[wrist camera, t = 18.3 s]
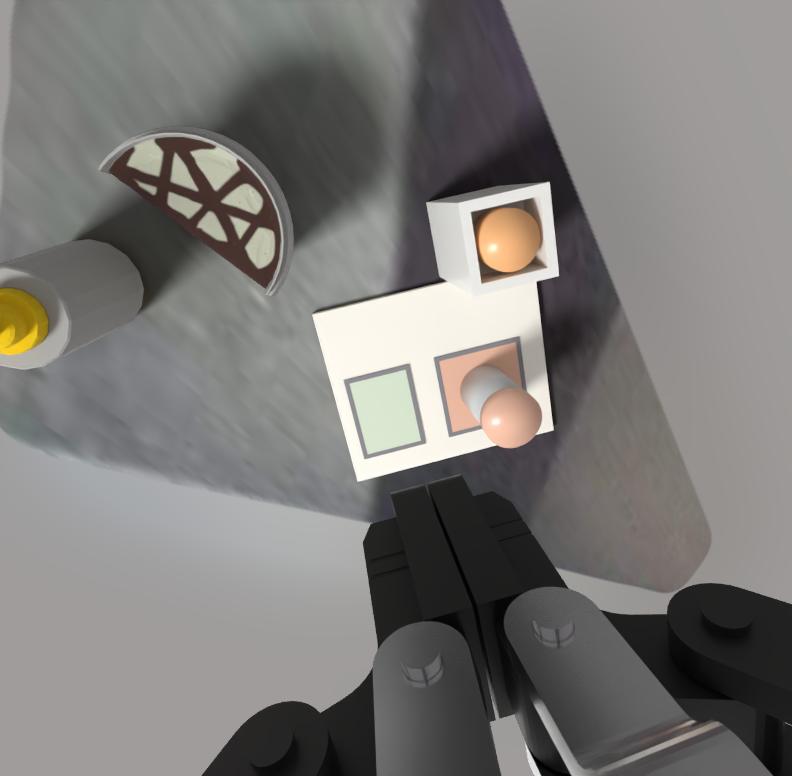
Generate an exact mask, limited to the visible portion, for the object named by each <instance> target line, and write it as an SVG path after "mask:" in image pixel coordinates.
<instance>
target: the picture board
mask: <svg viewBox="0 0 792 776" xmlns="http://www.w3.org/2000/svg"><path fill="white" fill-rule="evenodd" d="M312 315H313V319H314V323H315V326H316V330H317V334H318V337H319V341H320V345H321V348H322V352H323V356H324V359H325V363H326V367H327V370H328V374H329V378H330V381H331V385H332V389H333V392H334V396H335V400H336V403H337V407H338V411H339V414H340V418H341V422H342V425H343V429H344V433H345V437H346V440H347V444H348V448H349V451H350V455H351V459H352V462H353V466H354V470H355V473H356V477H357V481H358V482H359V481H363V480H366V479H370V478H374V477H378V476H382V475H385V474H389V473H393V472H397V471H401V470H404V469H408V468H412V467H416V466H420V465H423V464H427V463H431V462H435V461H439V460H442V459H446V458H450V457H454V456H458V455H461V454H465V453H469V452H473V451H477V450H480V449H484V448H488V447H492V446H496V444H495V443H493V442H492V441H491V440H490V439H489V438H488V436H487V435H486V434H485V432H484V431H483V429H482V427H481V425H480V423H479V422H478V421H477V420H476V418H475V417H474V416H473V414H472V413H471V412H470V410H469V409H468V408H467V406H466V405H465V404H464V402H463V401H462V398H461V395H460V386H461V383H462V380H463V378H464V377H465V375H466V374H467V373H468V372H469V371H470V370H472V369H473V368H475V367H478V366H481V365H491V366H495V367H497V368H499V369H500V370H501V371H502V372H503V373H505V374H506V375H507V376H508V377H509V378H510V379H511V380H512V381H513V382H515V383H516V384H517V385H518V386H519V387H520V388H521V389H523V390H525V391H526V392H528V393H529V394H530V395H531V396H532V397H533V398H534V399H535V400H536V401H537V402H538V403H539V405H540V407H541V411H542V422H541V426H540V428H539V430H538V432H537V433H536V435H537V434H541V433H545V432H549V431H553V422H552V413H551V405H550V396H549V387H548V379H547V370H546V362H545V353H544V344H543V336H542V327H541V318H540V310H539V301H538V292H537V284H536V282H532V283H528V284H524V285H520V286H516V287H511V288H507V289H503V290H499V291H495V292H491V293H487V294H483V295H479V296H474V297H473V296H471V295H469V294H468V293H466V292H464V291H463V290H461V289H459V288H458V287H456V286H454V285H453V284H451V283H449V282H448V281H445V282H440V283H436V284H432V285H428V286H424V287H420V288H416V289H411V290H407V291H403V292H399V293H395V294H391V295H386V296H382V297H378V298H374V299H370V300H366V301H361V302H357V303H353V304H349V305H345V306H341V307H336V308H332V309H328V310H324V311H320V312H316V313H312Z"/></svg>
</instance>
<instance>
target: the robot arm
mask: <svg viewBox="0 0 792 776" xmlns="http://www.w3.org/2000/svg"><path fill="white" fill-rule="evenodd" d="M427 491H428V492H427ZM390 495H391V499H392V503H393V507H394V511H395V515H396V517H395V518H392V519H388V520H384V521H380V522H377V523H373V524H371V525H370V527H369V529H368V532H367V534H366V537H365V539H364V541H363V547H364V553H365V559H366V567H367V573H368V579H369V587H370V594H371V601H372V607H373V614H374V620H375V627H376V634H377V641H378V651H377V653H376V655H375V658H374V662H373V668H372V670H371V671H370V673H369V675H368V676H367V678H366V679H365V680H364V681H363V682H362V684H361V685H360V686H359V687H358V688H357V689H355V690H354V691H353V692H352V693H351V694H349V695H348V696H347V697H345V698H344V699H342V700H341V701H339V702H337V703H336V704H334V705H333V706H331V707H329V708H328V709H326V710H325V711H323V712H321V713H320V712H318V711H317V710H316V709H315V708H314V707H312V706H310V705H309V704H306V703H302V702H297V701H290V702H281V703H277V704H274V705H271V706H269V707H267V708H265V709H263V710H261V711H259V712H258V713H257V714H255V715H253V716H252V717H251V718H249V719H248V720H247V721H246V722H245V723H244V724H243V725H242V726H241V727H240V728H239V729H238V731H236V733H235V734H234V735H233V736H232V738H231V739H230V740H229V741H228V743H227V744H226V745H225V747H224V748H223V749H222V750H221V752H220V753H219V754H218V755H217V757H216V758H215V759H214V761H213V762H212V763H211V764H210V766H209V767H208V768H207V769H206V771H205V772H204V773H203V775H202V776H501V773H500V768H499V764H498V760H497V755H496V750H495V745H494V741H493V735H492V731H491V726H490V722H491V721H494V720H495V714H494V709H493V705H492V699H493V702H494V704H495V707H496V710H497V713H498V715H499V718H503V717H507V716H510V715H513V714H515V716H516V719H517V721H518V724H519V726H520V729H521V731H522V733H523V736H524V741H525V746H526V752H527V757H528V762H529V765H530V767H531V770H532V772H533V774H534V776H792V726H790V725H788V724H791V725H792V604H789V603H786V602H783V601H780V600H777V599H773V598H770V597H767V596H763V595H760V594H758V593H754V592H751V591H748V590H745V589H742V588H738V587H734V586H731V585H725V584H715V583H705V584H697V585H692V586H689V587H687V588H684V589H682V590H680V591H679V592H678V593H676V594H675V595H674V596H673V598H672V599H671V600H670V602H669V605H668V610H667V614H660V615H658V614H655V615H654V614H653V615H626V614H616V613H610V612H606V611H602V610H600V609H599V608H598V607H597V606H596V605H595V604H594V603H593V602H592V601H591V600H590V599H588V598H587V597H586V596H584V595H582V594H580V593H579V592H576V591H573V590H571V589H569V588H568V587H567V586H566V584H565V583H564V581H563V580H562V578H561V576H560V575H559V573H558V572H557V570H556V569H555V567H554V566H553V564H552V563H551V561H550V560H549V558H548V557H547V555H546V554H545V552H544V551H543V549H542V548H541V546H540V545H539V543H538V542H537V540H536V539H535V537H534V536H533V535H532V534H531V531H530V529H529V528H528V526H527V525H526V523H525V522H523V520H522V517H521V516H520V514H519V513H518V511H517V510H516V508H515V507H514V505H513V504H512V502H510V501H509V500H507V499H505V498H503V497H502V496H500V495H498V494H497V493H495V492H493V491H491V492H488V493H484V494H480V495H477V496H473V495H472V493H471V491H470V490H469V488H468V486H467V484H466V482H465V480H464V479H463V477H462V475H461V474H460V475H456V476H452V477H448V478H445V479H441V480H437V481H433V482H430V483H427V490H426V487H425V485H424V484H423V485H419V486H415V487H411V488H407V489H404V490H400V491H396V492H392V493H390ZM490 693H491V694H490ZM491 696H492V699H491ZM785 722H786V723H788V724H786V723H785Z"/></svg>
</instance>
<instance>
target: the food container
mask: <svg viewBox="0 0 792 776" xmlns="http://www.w3.org/2000/svg"><path fill="white" fill-rule="evenodd" d="M98 168H99V169H98V170H99V171H102V172H106V173H109V174H112V175H114V176H115V177H116V178H118V179H119V180H120V181H121V182H123V183H125V184H126V185H128V186H129V187H131V188H132V189H133V190H135V191H136V192H137V193H139V194H140V195H141V196H143V197H144V198H145V199H146V200H148V201H149V202H150V203H152V204H153V205H154V206H156V207H157V208H158V209H160V210H161V211H162V212H164V213H165V214H166V215H167V216H169V217H170V218H171V219H173V220H174V221H175V222H176V223H178V224H179V225H180V226H182V227H183V228H184V229H185V230H187V231H188V232H189V233H190V234H192V235H193V236H195V237H196V238H197V239H199V240H200V241H202V242H203V243H204V244H206V245H207V246H209V247H210V248H211V249H213V250H214V251H215V252H217V253H218V254H219V255H221V256H222V257H223V258H225V259H226V260H228V261H229V262H230V263H232V264H233V265H234V266H236V267H237V268H238V269H240V270H241V271H242V272H244V273H245V274H246V275H248V276H249V277H250V278H252V279H253V280H254V281H256V282H257V283H258V284H260V285H261V286H263V287H264V288H265V292H266V295H268V294H269V295H270V296H276V294H277V293H278V291H279V290H280V288H281V286H282V285H283V283H284V281H285V278H286V276H287V274H288V271H289V268H290V264H291V260H292V256H293V245H294V235H293V223H292V219H291V214H290V210H289V207H288V204H287V202H286V199H285V196H284V194H283V192H282V190H281V188H280V187H279V185H278V183H277V181H276V180H275V178H274V177H273V175H272V174H271V173H270V172H269V170H268V169H267V168H266V166H265V165H264V164H263V163H262V162H261V161H260V160H259V159H258V158H257V157H256V156H255V155H254V154H253V153H251V152H250V151H249V150H247V149H246V148H244V147H243V146H242V145H240V144H239V143H237V142H235V141H233V140H231V139H230V138H228V137H226V136H224V135H222V134H219V133H216V132H213V131H210V130H207V129H202V128H196V127H190V126H169V127H163V128H158V129H153V130H150V131H148V132H145V133H142V134H139V135H137V136H135V137H133V138H131V139H129V140H128V141H126V142H124V143H122V144H121V145H119V146H118V147H117V148H116V149H115V150H113V151H112V152H111V153H110V154H109V155H108V156H107V157H106V158H105V159H104V161H103V162H102V163H101V164H100V166H99V167H98Z"/></svg>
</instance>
